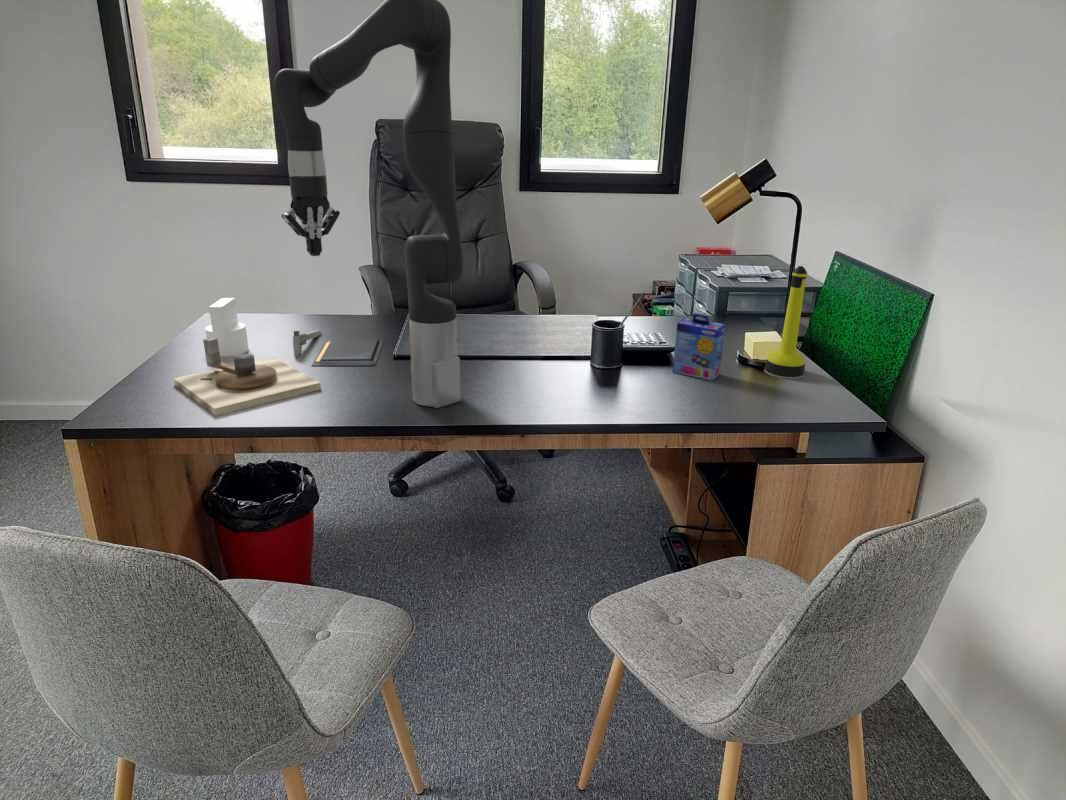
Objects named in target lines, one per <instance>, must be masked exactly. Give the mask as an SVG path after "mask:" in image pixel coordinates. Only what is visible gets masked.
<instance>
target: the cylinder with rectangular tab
mask: <svg viewBox="0 0 1066 800" xmlns="http://www.w3.org/2000/svg"><path fill="white" fill-rule="evenodd" d="M208 309H209V316H210V318H209V319H210V323H211V324H210V325H207V326H205V329H204V330H205V337H206V338H210V337H213V338H217V339H218V346H219V353H220V358H221V357H223V358H224V357H235V356H237V355H241V354H246V353H247V352H248V351H249V342H248V335H247V327H246V323H243V322H240V321H239V319H238V313H237V306H236V298H235V297H221V298H220V299H218V300H217V301H216V302H214V303H212V304H211V305H210V306H208Z"/></svg>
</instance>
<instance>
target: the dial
mask: <svg viewBox="0 0 1066 800" xmlns="http://www.w3.org/2000/svg"><path fill="white" fill-rule="evenodd" d="M202 342H203V347H204V355H205V359H206V360H205V361H206V367H209V368H212V369H214V368H215V369H221V370H223V371H221V372H219V373H218V374H216V376H215V381H216V384H217V385H218V386H220V387H224V388H230V389H246V388H254V387H259V386H262V385H266V384H268V383H270V382H272V381H274V380H275V379H276V377H277V374H276V370H275V369H274V368H272V367H269V366H263V365H255V361H256V360H255V355H254V354H250V353H243V354H239V355H235V356H232V357H233V365H232V364H229V363H224V362H222V360H221V356H220V353H219V346H218V339H217V338H213V337H210V338H207V337H206V338H203V341H202Z"/></svg>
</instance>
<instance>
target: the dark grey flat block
mask: <svg viewBox="0 0 1066 800" xmlns="http://www.w3.org/2000/svg"><path fill="white" fill-rule="evenodd" d="M383 346H384V341H383V340H380V339H378V338H369V339H368V338H358V339H357V338H351V339H349V338H348V339H347V338H343V339H342V338H341V339H337V338H335V339H332V340H327V341H325V342H324V343H323V346H322V347H321V349H320V351H319V352H318V354H317V356H316V358H315V359H314V360H313V362H312V364H311V368H312V367H315V368H316V367H320V368H321V367H326V368H327V367H329V368H333V367H336V368H337V367H338V368H342V367H344V368H346V367H347V368H351V367H352V368H354V367H357V368H358V367H359V368H360V367H361V368H364V367H365V368H366V367H367V368H368V367H375V366H376V365H377V363H378V360H379V358H380V353H381V352H382V348H383Z"/></svg>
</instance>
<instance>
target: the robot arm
mask: <svg viewBox="0 0 1066 800" xmlns="http://www.w3.org/2000/svg"><path fill="white" fill-rule="evenodd" d="M450 19H451V18H450V16H449V13H448V11H447V9H446V7H445V6H444V4H442V3H441V2H440V0H439V1H438V0H384V1H383V2H382V3H381V4H380V5H379V6H378V7H377V8H376V9H375V10H374V11H373V12H372V13H371V14H370V15H368V17H367V18H366V19H364V20H363V21H362V22H361V23H360V24H359V25H358V26H356V28H355V29H353V30H352V31H351V32H350V33H349V34H348V35H347V36H345V37H343V38H342V39H341V40H339V41H338V42H336V43H334V44H332V45H331V46H329V47H328V48H326V49H325V50H323V51H321V52H319V53H318V54H316V55H315V56H314V57H312V59H311V61H310V62H309V68H308V69H295V68H282V69H281V70H279V71H278V72H277V73H276V74H275V77H274V79H273V84H272V85H273V86H272V87H273V88H272V89H273V96H274V100H275V103H276V105H277V106H276V107H277V109H278V112H279V114H280V117H281V120H282V122H283V125H284V129H285V134H286V144H287V166H288V168H287V169H288V175H289V176H288V179H289V186H290V187H289V189H290V196H291V203H290V208H289V210H287V211H286V212H283V213H282V214H281V218H282V219H283V220H284V222H285V223H286V224H287V225H288V226H289V227H290V228H291V230H293V231H294V233H295V234H296V235H297V236H299V237H302V238H305V243H306V252H307V253H308V254H309V256H311V257H319V256H321V254H322V252H323V246H322V244H323V243H322V238H323V237H324V236H325V235H329V234H330V232H331V231H332V228H333V226H334V225H335V223H336V221H337V220H338V218H339V216H340V215H341V214H340V213H341V212H340V211H339V210H337V209H334V208H333V207H331V203H330V201H329V200H328V199H329V198H328V184H327V183H328V182H327V168H326V160H325V155H324V148H323V136H322V128H321V125H320V124H319V122H317V121H316V120H312V119H310V118H309V117H308V115H307V112H306V109H305V108H315V107H319V106H320V105H322V104H324V103H326V102H327V101H328V100H329V99H330V98H331V97H332V96H333V95H334V94H335V93H336V91H337V90H339V89H342V88H343V87H345V86H346V85H349V84H350V83H352V82H354V81H356V80H357V79H359V78H360V77H361V76H362V75H363V74H364V73H365V72H366V71H367V69H368V67H369V65H370V63H371V62H372V60H373V58H374V57H375V56H376V55H377V54H378V53H380V52H382V51H383V50H387V49H388V48H392V47H394V46H399V45H401V46H403V47H406V48H408V49H411V50H413V51H414V52H413V53H414V60H415V72H416V75H415V76H416V77H415V79H416V81H415V88H414V91H413V95H412V98H411V100H410V103H409V106H408V107H407V110H406V113H405V115H404V119H403V124H402V133H403V134H402V136H403V137H402V138H403V147H404V148H403V149H404V150H403V152H404V162H405V165H406V167H407V169H408V171H409V173H410V175H411V176H412V177H413V179H414V181H415V182H416V184H417V185H418V187H419V188H420V189H421V190H422V191H423V194H424V195H425V196H426V197H427V199H428V201H429V202H430V204H431V206H432V208H433V209H434V211H435V214H436V216H437V220H438V223H439V225H440V230H441V234H421V235H420V234H419V235H418V234H417V235H416V234H415V235H411V236H409V237H408V238H407V239H406V241H405V243H404V266H405V275H406V286H407V301H408V302H407V303H408V318H409V319H408V320H409V346H410V347H409V349H410V368H411V369H410V371H411V373H410V374H411V387H412V388H411V392H412V401H413V402H414V403H415V404H417V405H419V406H425V407H432V408H435V409H438V408H442V407H445V406H449V405H452V404H455V403H458V402H461V362H460V361H461V358H460V357H459V356H458V349H457V348H458V347H457V346H458V344H457V342H458V341H457V339H458V337H457V307H456V304H455V303H454V301H451V300H449V299H447V298H443V297H440V296H437V295H434V294H432V293H430V292H428V291H427V289H426V285H437V284H453V283H457V282H460V280H461V279H462V277H463V274H464V266H465V265H464V261H465V260H464V250H463V242H462V241H463V240H462V235H461V227H460V226H461V225H460V218H459V212H458V202H457V191H456V189H457V188H456V169H455V168H456V167H455V142H454V129H453V122H452V102H451V82H450V81H451V79H450V78H451V77H450V76H451V75H450V73H451V68H450V67H451V42H452V41H451V39H452V34H451V33H452V29H451V20H450ZM297 218H298V220H299V221H300V222H301V223H299V222H298V221H297Z"/></svg>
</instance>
